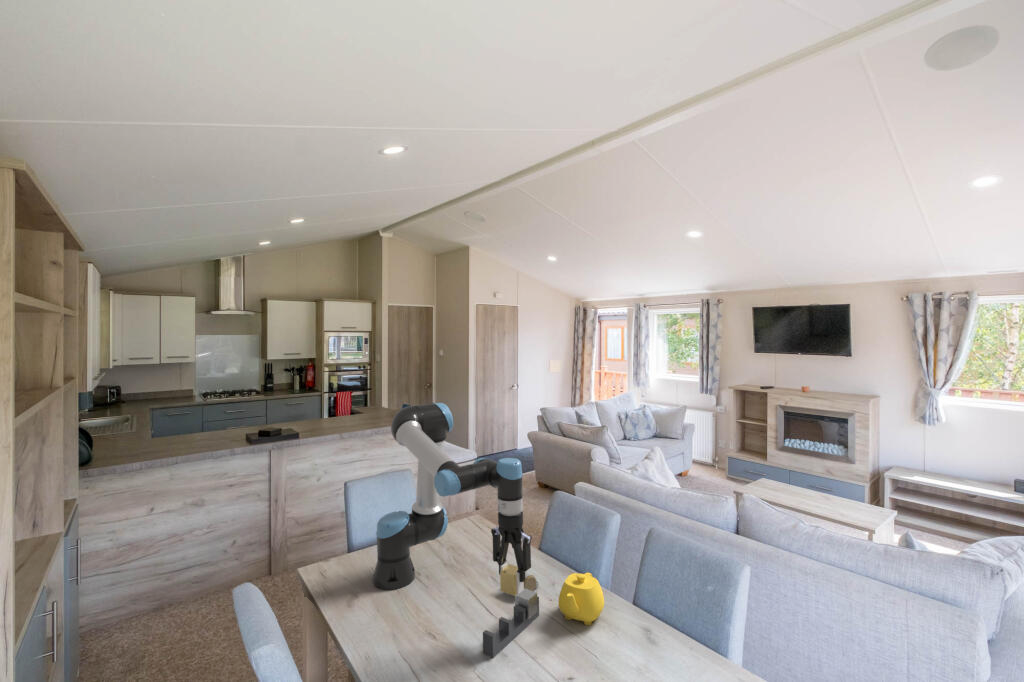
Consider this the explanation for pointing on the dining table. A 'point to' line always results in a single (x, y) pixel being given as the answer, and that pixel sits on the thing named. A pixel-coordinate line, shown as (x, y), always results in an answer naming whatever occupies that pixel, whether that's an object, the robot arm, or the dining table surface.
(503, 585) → the unfinished wooden cube
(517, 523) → the robot arm
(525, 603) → the plain grey cube
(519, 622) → the rack rail
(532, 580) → the ceramic mug
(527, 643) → the dining table surface
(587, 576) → the teapot
